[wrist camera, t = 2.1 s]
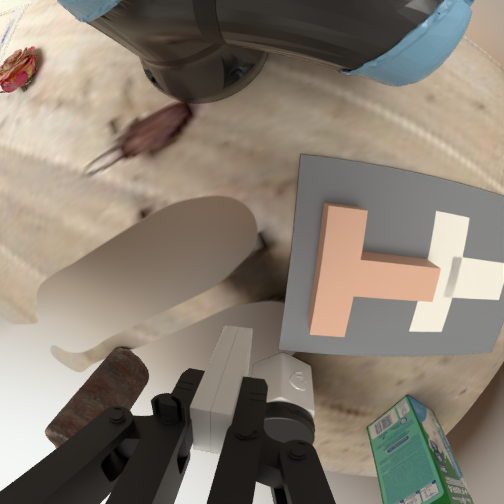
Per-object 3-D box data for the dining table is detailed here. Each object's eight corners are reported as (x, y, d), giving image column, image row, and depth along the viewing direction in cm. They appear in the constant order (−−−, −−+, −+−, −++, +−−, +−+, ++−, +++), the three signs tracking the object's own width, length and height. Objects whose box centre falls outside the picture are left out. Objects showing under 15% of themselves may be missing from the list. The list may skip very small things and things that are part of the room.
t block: (323, 202, 31) (328, 205, 27) (433, 218, 30) (449, 224, 26) (307, 318, 35) (309, 334, 31) (409, 324, 34) (420, 339, 30)
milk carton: (433, 411, 38) (480, 521, 13) (395, 441, 40) (423, 551, 16) (407, 393, 37) (456, 523, 13) (366, 427, 39) (389, 555, 15)
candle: (151, 352, 40) (82, 447, 21) (155, 388, 42) (99, 479, 22) (109, 340, 40) (32, 419, 21) (115, 375, 42) (52, 454, 23)
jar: (324, 370, 37) (333, 434, 26) (291, 405, 39) (289, 467, 28) (269, 342, 37) (261, 404, 25) (239, 380, 39) (223, 442, 28)
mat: (300, 154, 31) (300, 154, 30) (528, 205, 28) (530, 205, 27) (278, 347, 37) (278, 349, 36) (489, 350, 34) (491, 352, 33)
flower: (34, 97, 30) (15, 62, 23) (-3, 114, 30) (-23, 84, 22) (54, 65, 34) (41, 32, 27) (18, 81, 33) (3, 52, 26)
